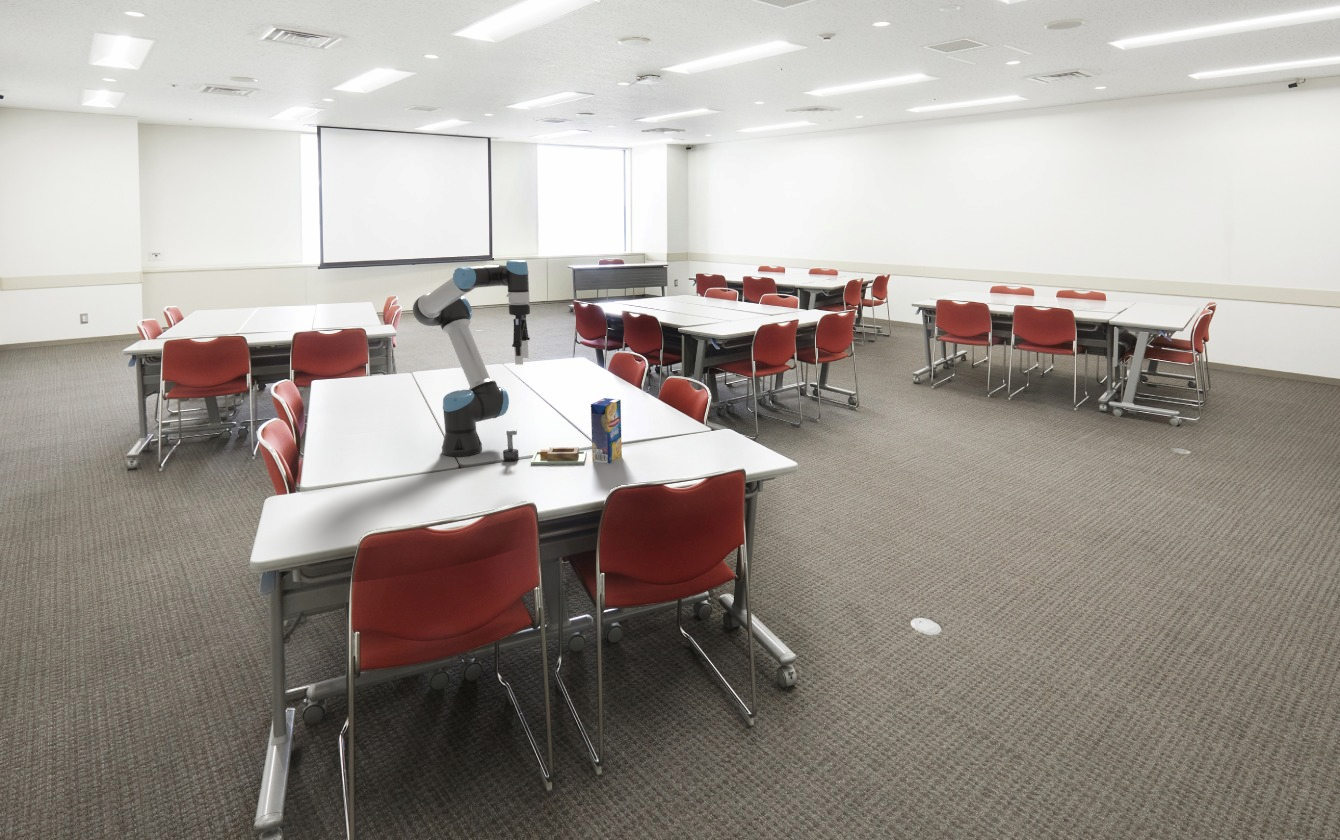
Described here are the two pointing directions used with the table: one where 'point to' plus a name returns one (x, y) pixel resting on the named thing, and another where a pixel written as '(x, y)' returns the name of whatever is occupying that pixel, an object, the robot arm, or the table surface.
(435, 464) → the table surface
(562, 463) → the tray
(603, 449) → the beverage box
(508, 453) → the gray post stand
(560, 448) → the wooden rectangular frame
